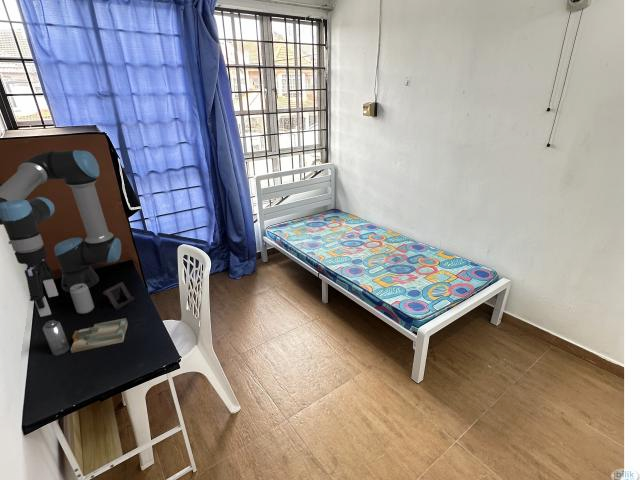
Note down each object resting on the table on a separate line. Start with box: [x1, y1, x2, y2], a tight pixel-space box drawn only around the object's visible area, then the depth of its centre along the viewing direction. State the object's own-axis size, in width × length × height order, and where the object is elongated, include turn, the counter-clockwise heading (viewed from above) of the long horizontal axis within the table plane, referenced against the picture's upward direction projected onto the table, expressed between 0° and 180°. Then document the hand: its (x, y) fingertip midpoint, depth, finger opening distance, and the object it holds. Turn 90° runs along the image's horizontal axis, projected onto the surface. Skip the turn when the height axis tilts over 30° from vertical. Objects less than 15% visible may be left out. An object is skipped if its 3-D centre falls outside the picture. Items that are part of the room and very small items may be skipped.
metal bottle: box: [42, 319, 70, 356], centre depth 118 cm, size 5×5×12 cm
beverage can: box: [69, 283, 95, 315], centre depth 141 cm, size 6×6×12 cm
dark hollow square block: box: [102, 281, 135, 311], centre depth 147 cm, size 9×8×8 cm
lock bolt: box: [72, 329, 92, 343], centre depth 124 cm, size 4×5×2 cm
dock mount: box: [69, 318, 129, 354], centre depth 126 cm, size 12×16×4 cm
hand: (49, 305), depth 114 cm, fingers open, 13 cm apart
